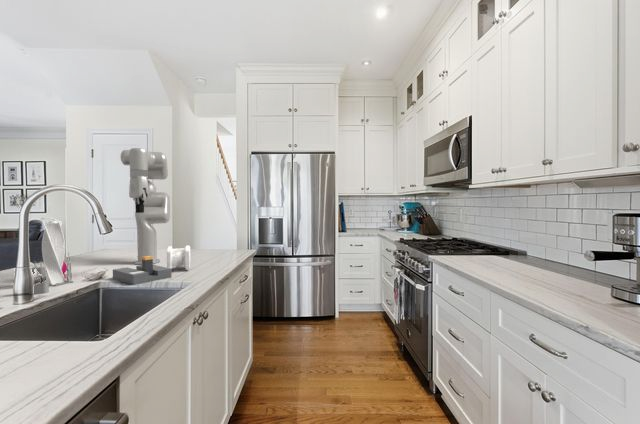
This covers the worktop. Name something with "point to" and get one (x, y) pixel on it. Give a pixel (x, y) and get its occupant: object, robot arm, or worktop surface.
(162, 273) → the breaker panel
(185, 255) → the cable organizer
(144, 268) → the block
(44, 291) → the power adapter
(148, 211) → the robot arm
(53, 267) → the skyscraper
